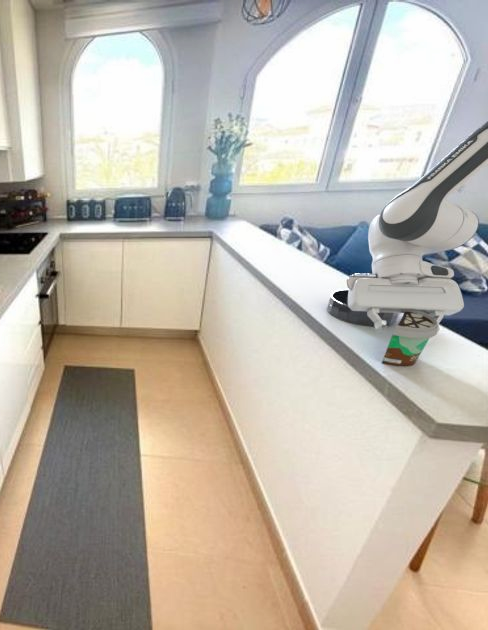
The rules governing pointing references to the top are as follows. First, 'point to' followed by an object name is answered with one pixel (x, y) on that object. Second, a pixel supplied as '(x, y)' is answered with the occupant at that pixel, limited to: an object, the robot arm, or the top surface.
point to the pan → (341, 311)
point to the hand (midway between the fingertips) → (406, 330)
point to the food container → (410, 338)
